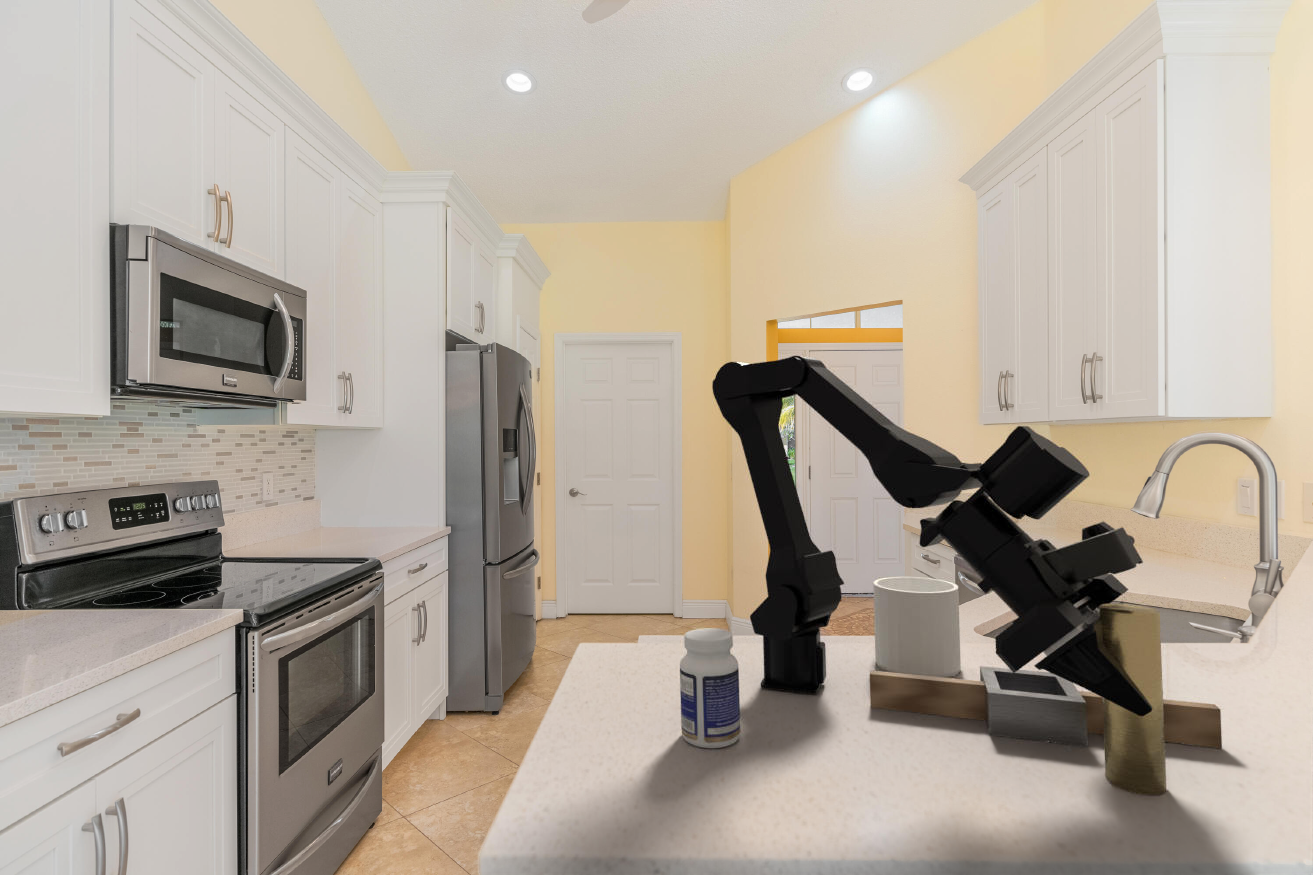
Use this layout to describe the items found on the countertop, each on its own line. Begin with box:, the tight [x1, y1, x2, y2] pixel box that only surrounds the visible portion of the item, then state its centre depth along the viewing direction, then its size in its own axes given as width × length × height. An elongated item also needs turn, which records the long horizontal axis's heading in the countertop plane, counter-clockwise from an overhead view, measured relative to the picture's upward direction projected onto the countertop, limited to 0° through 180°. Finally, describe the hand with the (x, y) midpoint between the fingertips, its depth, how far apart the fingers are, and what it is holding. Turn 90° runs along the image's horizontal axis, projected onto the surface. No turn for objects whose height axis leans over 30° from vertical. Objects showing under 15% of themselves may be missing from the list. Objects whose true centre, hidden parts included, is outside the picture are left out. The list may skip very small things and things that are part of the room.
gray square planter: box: [979, 665, 1089, 748], centre depth 64 cm, size 8×8×4 cm
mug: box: [873, 576, 962, 678], centre depth 83 cm, size 13×10×10 cm
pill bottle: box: [679, 627, 741, 749], centre depth 63 cm, size 6×6×10 cm
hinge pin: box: [1099, 603, 1167, 796], centre depth 53 cm, size 4×4×14 cm
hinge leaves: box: [869, 670, 1223, 749], centre depth 64 cm, size 30×1×4 cm, turn 68°
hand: (1153, 705), depth 52 cm, fingers closed on hinge pin, 4 cm apart
